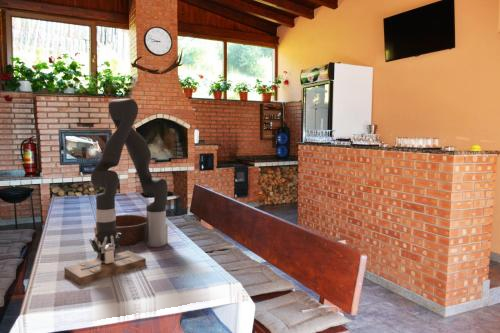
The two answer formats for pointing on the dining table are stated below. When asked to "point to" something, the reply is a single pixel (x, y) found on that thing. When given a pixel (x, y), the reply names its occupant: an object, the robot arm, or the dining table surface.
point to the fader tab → (109, 254)
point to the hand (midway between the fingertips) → (107, 259)
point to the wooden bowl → (131, 228)
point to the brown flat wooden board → (103, 267)
